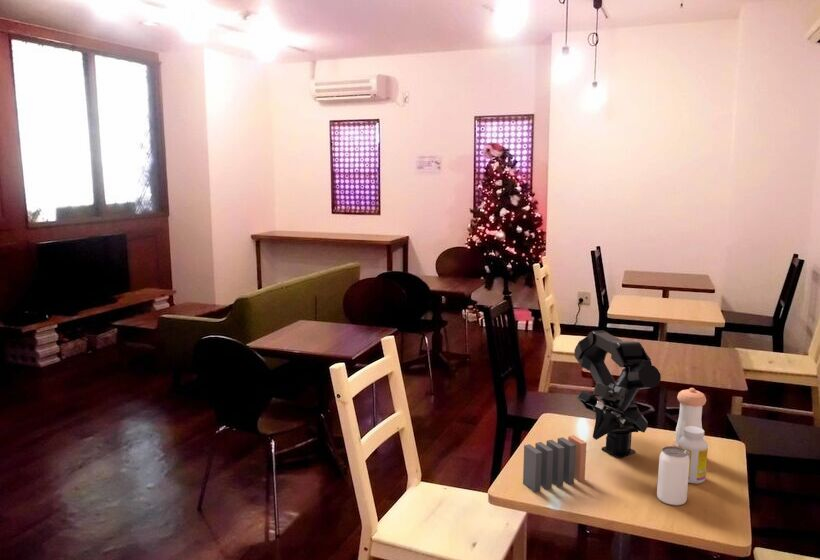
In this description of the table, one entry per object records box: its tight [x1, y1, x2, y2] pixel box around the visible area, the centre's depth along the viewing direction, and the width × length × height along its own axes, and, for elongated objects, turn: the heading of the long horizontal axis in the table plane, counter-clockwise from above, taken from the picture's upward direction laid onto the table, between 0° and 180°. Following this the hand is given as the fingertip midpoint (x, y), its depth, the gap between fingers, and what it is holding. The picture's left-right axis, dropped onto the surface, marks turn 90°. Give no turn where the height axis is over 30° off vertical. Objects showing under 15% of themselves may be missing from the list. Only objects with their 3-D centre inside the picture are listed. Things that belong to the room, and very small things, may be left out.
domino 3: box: [545, 439, 565, 488], centre depth 159 cm, size 2×5×10 cm, turn 24°
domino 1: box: [522, 444, 542, 494], centre depth 156 cm, size 2×5×10 cm, turn 24°
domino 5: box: [567, 435, 587, 483], centre depth 162 cm, size 2×5×10 cm, turn 24°
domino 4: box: [556, 437, 576, 486], centre depth 160 cm, size 2×5×10 cm, turn 24°
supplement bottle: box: [678, 426, 709, 485], centre depth 161 cm, size 7×7×13 cm
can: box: [656, 445, 689, 507], centre depth 151 cm, size 6×6×12 cm
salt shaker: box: [672, 387, 707, 447], centre depth 172 cm, size 7×7×19 cm
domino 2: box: [534, 441, 553, 491], centre depth 158 cm, size 2×5×10 cm, turn 24°
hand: (594, 438), depth 164 cm, fingers closed
